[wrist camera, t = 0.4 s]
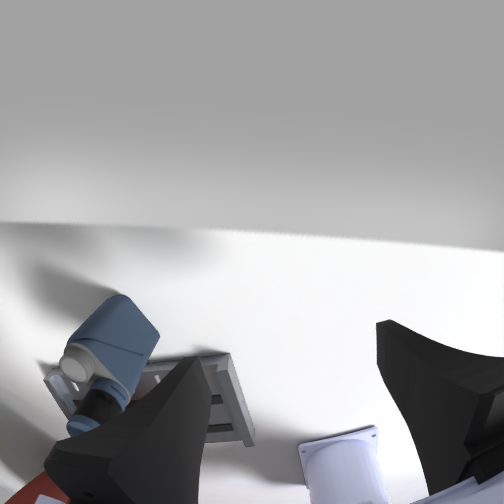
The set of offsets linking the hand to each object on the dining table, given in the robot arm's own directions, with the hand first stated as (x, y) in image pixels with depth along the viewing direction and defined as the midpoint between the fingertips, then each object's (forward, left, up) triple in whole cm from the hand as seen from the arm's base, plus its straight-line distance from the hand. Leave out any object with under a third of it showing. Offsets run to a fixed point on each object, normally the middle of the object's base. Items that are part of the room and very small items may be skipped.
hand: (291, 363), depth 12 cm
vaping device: (-1, +11, -10) cm, 15 cm away
